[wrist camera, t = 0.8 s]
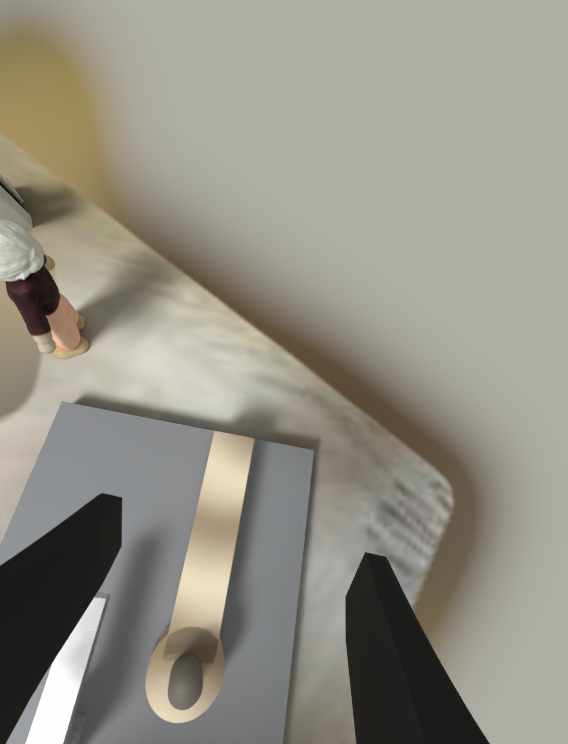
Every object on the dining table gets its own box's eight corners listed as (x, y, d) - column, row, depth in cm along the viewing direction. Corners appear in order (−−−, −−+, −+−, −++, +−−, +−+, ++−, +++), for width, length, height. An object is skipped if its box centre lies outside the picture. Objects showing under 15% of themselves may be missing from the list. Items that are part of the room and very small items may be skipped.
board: (274, 759, 22) (279, 776, 21) (-74, 747, 19) (-95, 766, 17) (308, 452, 30) (314, 450, 29) (68, 406, 27) (61, 401, 25)
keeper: (74, 758, 19) (44, 822, 15) (35, 757, 19) (-6, 822, 15) (124, 583, 22) (109, 599, 18) (92, 579, 22) (71, 594, 18)
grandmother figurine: (32, 308, 29) (-76, 177, 17) (81, 297, 30) (11, 169, 19) (55, 388, 27) (-48, 301, 15) (106, 372, 28) (47, 282, 17)
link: (213, 704, 21) (217, 745, 17) (140, 699, 20) (128, 742, 17) (258, 444, 27) (268, 435, 24) (204, 434, 27) (205, 423, 23)
